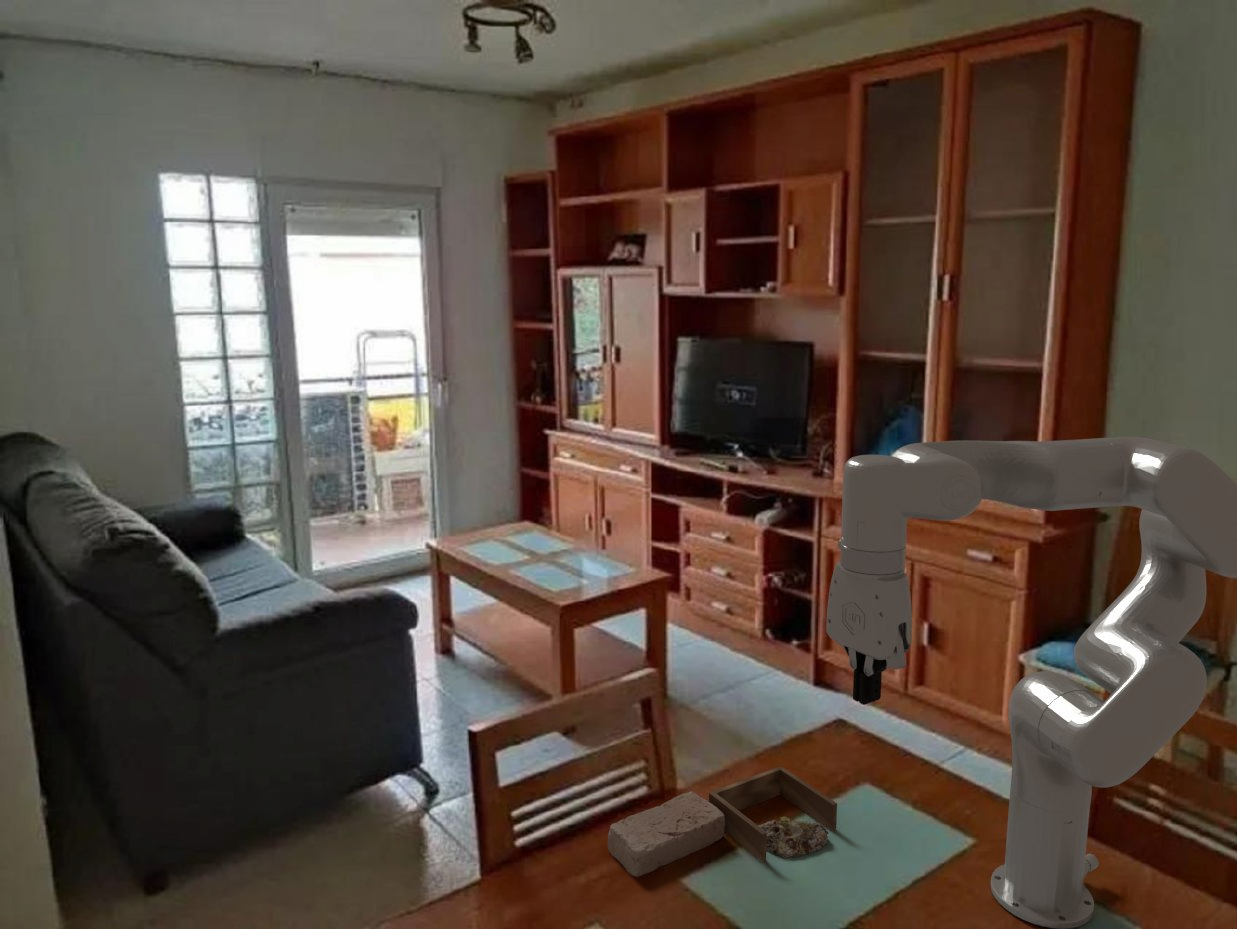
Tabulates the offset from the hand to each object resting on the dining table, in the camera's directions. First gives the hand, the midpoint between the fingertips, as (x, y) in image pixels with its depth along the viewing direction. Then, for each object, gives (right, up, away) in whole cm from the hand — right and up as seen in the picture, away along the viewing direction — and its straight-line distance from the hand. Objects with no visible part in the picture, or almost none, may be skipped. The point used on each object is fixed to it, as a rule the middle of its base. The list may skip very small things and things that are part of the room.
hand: (866, 699), depth 112 cm
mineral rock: (-5, -28, +23) cm, 36 cm away
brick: (-24, -28, +23) cm, 43 cm away
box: (-7, -26, +27) cm, 38 cm away
